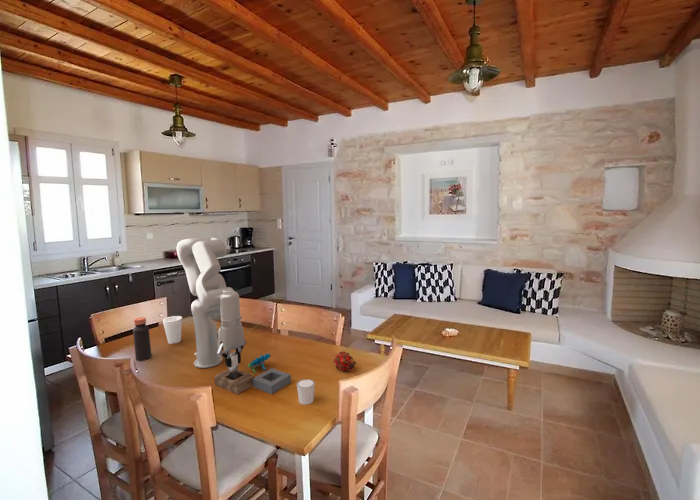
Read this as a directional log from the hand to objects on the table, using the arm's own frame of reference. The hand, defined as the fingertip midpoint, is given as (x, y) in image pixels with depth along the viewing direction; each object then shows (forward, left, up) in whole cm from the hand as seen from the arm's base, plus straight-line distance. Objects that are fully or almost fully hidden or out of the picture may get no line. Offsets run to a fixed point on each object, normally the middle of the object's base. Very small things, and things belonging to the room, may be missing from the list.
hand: (233, 363), depth 150 cm
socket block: (+13, +8, -9) cm, 18 cm away
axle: (0, 0, -6) cm, 6 cm away
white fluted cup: (+33, +7, -9) cm, 35 cm away
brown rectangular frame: (0, 0, -9) cm, 9 cm away
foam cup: (-67, +13, -9) cm, 68 cm away
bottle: (-60, -7, -9) cm, 61 cm away
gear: (-2, +16, -9) cm, 18 cm away
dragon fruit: (+31, +36, -9) cm, 49 cm away
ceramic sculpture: (-50, +35, -9) cm, 61 cm away
